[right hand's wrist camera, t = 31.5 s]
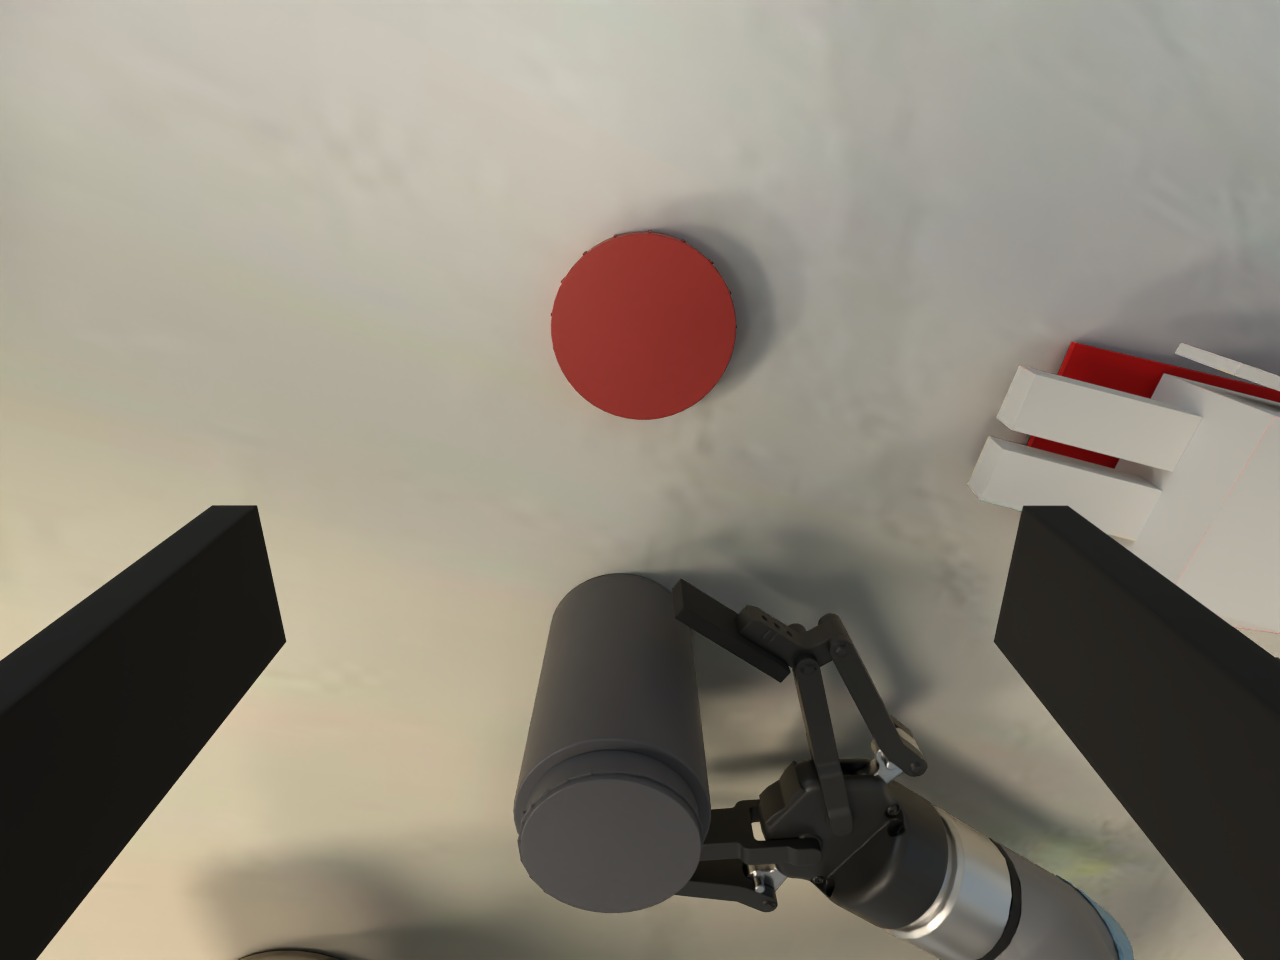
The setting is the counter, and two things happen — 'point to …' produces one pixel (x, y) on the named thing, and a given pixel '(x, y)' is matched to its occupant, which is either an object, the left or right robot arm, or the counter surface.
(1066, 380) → the toy
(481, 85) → the counter surface
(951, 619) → the counter surface
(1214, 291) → the counter surface
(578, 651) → the jar
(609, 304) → the lid
